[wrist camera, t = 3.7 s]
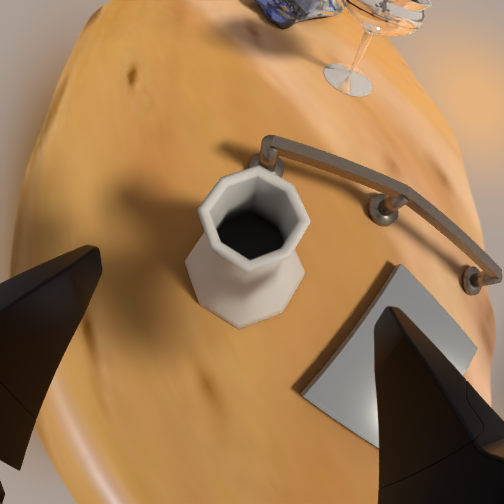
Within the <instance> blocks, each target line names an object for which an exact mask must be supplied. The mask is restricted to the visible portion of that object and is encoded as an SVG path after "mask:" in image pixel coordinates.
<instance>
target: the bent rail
mask: <svg viewBox="0 0 504 504" xmlns="http://www.w3.org/2000/svg"><path fill="white" fill-rule="evenodd" d="M279 155H280V156H283V157H286V158H289V159H292V160H295V161H298V162H302V163H305V164H308V165H310V166H313V167H316V168H319V169H322V170H325V171H328V172H330V173H333V174H336V175H339V176H341V177H344V178H347V179H349V180H352V181H354V182H357V183H360V184H362V185H365V186H367V187H370V188H372V189H375V190H377V191H379V192H382V193H384V194H382V193H380V194H376V195H375V196H374V197H373V198H371V199H370V201H369V203H368V213H369V216H370V217H371V219H372V220H373V221H374V222H375V223H376V224H378V225H380V226H389V225H390V224H392V223H394V222H395V221H396V219H397V217H398V209H399V208H401V207H402V206H403V205H405V204H406V205H407V206H408V207H410V208H411V209H412V210H414V211H415V212H416V213H417V214H419V215H420V216H421V217H423V218H424V219H425V220H426V221H428V222H429V223H430V224H431V225H433V226H434V227H435V228H436V229H437V230H439V231H440V232H441V233H442V234H443V235H445V236H446V237H447V238H448V239H449V240H450V241H452V242H453V243H454V244H455V245H456V246H457V247H458V248H460V249H461V250H462V251H463V252H464V253H465V254H466V255H467V256H468V257H469V258H471V259H472V260H473V261H474V262H475V263H476V264H477V265H478V266H479V267H480V268H481V269H482V270H483V271H482V272H480V271H479V270H478V269H477V268H476V267H469V268H467V269H465V271H464V273H463V276H462V285H463V288H464V291H465V292H466V293H467V294H468V295H476V294H478V293H479V292H480V290H481V287H482V286H486V285H491V284H495V283H500V282H501V280H502V269H501V268H500V267H499V266H498V265H497V264H496V263H495V262H494V261H493V260H492V259H491V258H490V257H489V256H488V255H487V254H486V253H485V252H484V251H483V250H482V249H481V248H480V247H479V246H478V245H477V244H476V243H475V242H474V241H473V240H472V239H471V238H470V237H469V236H468V235H467V234H466V233H464V232H463V231H462V230H461V229H460V228H459V227H458V226H457V225H456V224H455V223H453V222H452V221H451V220H450V219H449V218H448V217H446V216H445V215H444V214H443V213H442V212H441V211H439V210H438V209H437V208H436V207H435V206H433V205H432V204H431V203H430V202H428V201H427V200H426V199H425V198H423V197H422V196H421V195H420V194H418V193H417V192H416V191H414V190H413V189H412V188H411V187H408V185H405V184H403V183H401V182H399V181H397V180H395V179H392V178H390V177H388V176H385V175H383V174H381V173H379V172H376V171H374V170H371V169H369V168H367V167H364V166H362V165H359V164H357V163H354V162H352V161H349V160H346V159H344V158H341V157H338V156H336V155H333V154H330V153H327V152H325V151H322V150H319V149H316V148H313V147H310V146H307V145H304V144H301V143H298V142H295V141H292V140H289V139H285V138H282V137H279V136H275V135H267V136H265V137H264V138H263V139H262V143H261V150H260V153H259V154H257V155H255V156H254V157H253V158H252V159H251V161H250V164H249V168H252V167H255V166H258V165H260V166H261V167H263V168H265V169H267V170H269V171H270V172H272V173H274V174H276V175H277V176H279V177H282V175H283V172H284V164H283V162H282V160H281V159H280V158H279Z"/></svg>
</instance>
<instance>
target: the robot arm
mask: <svg viewBox="0 0 504 504" xmlns="http://www.w3.org/2000/svg"><path fill="white" fill-rule="evenodd" d="M101 275H102V263H101V256H100V251H99V248H98V247H96V246H92V245H85V246H82V247H80V248H77V249H75V250H73V251H70V252H68V253H65V254H63V255H61V256H58V257H56V258H54V259H52V260H49V261H47V262H45V263H43V264H40V265H38V266H36V267H34V268H32V269H29V270H27V271H25V272H23V273H21V274H19V275H17V276H15V277H13V278H10V279H8V280H7V281H4V282H2V283H1V284H0V460H1V461H3V462H4V463H6V464H8V465H10V466H11V467H13V468H15V469H17V470H20V469H21V466H22V463H23V459H24V456H25V452H26V449H27V446H28V443H29V440H30V437H31V433H32V431H33V428H34V425H35V422H36V419H37V416H38V414H39V411H40V408H41V406H42V403H43V401H44V398H45V396H46V393H47V391H48V389H49V386H50V384H51V382H52V379H53V377H54V375H55V372H56V370H57V368H58V366H59V364H60V361H61V359H62V357H63V355H64V353H65V351H66V349H67V347H68V345H69V343H70V341H71V339H72V337H73V335H74V333H75V331H76V329H77V327H78V325H79V323H80V321H81V320H82V318H83V316H84V314H85V311H86V309H87V307H88V305H89V302H90V300H91V297H92V295H93V293H94V291H95V288H96V286H97V284H98V282H99V279H100V277H101ZM374 373H375V385H376V397H377V411H378V430H379V491H378V504H504V421H503V420H502V419H501V418H500V417H499V415H498V414H497V413H496V412H495V411H494V410H493V409H492V408H491V407H490V406H489V405H488V404H487V403H486V402H485V400H484V399H483V398H482V397H481V396H480V395H479V394H478V393H477V391H476V390H475V389H474V388H473V387H472V386H471V385H470V383H469V382H468V381H466V379H465V378H464V376H463V375H462V374H461V373H460V372H459V371H458V370H457V369H456V367H455V366H454V365H453V364H452V363H451V362H450V361H449V360H448V359H447V357H446V356H445V355H444V354H443V353H442V352H441V351H440V350H439V349H438V348H437V347H436V345H435V344H434V343H433V342H432V341H431V340H430V339H429V338H428V337H427V336H426V335H425V334H424V333H423V332H422V331H421V330H420V329H419V328H418V326H417V325H416V324H415V323H414V322H413V321H412V320H411V319H410V318H409V317H408V316H407V315H406V314H405V313H404V312H403V311H402V310H401V309H400V308H398V307H394V306H387V307H386V308H385V309H384V310H383V312H382V314H381V315H380V317H379V319H378V320H377V322H376V324H375V326H374ZM4 496H5V492H4V490H3V487H2V484H1V481H0V504H2V502H3V499H4Z"/></svg>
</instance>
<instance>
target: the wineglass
mask: <svg viewBox="0 0 504 504" xmlns="http://www.w3.org/2000/svg"><path fill="white" fill-rule="evenodd" d="M341 2H342V3H343V5H344V7H345V8H346V10H347V11H348V13H349V14H350V16H351V17H352V18H353V19H354V20H355V21H356V22H357V23H359V24H360V25H361V26H362V28H363V30H364V31H365V32H364V34H363V37H362V40H361V43H360V45H359V48H358V51H357V53H356V56H355V59H354V61H353V64H352V66H350V65H347V64H342V63H333V64H329V65H328V66H327V67H325V70H324V75H325V78H326V79H327V81H328V82H329V83H330V84H331V85H332V86H333V87H334V88H336V89H337V90H339V91H341V92H343V93H345V94H348V95H351V96H356V97H361V96H366V95H368V94H369V93H370V92H371V91H372V85H371V82H370V80H369V79H368V77H367V76H366V75H365V74H364V73H362V72H361V71H360V70H358V69H357V68H356V67H357V65H358V63H359V61H360V60H361V58H362V56H363V54H364V52H365V50H366V48H367V46H368V44H369V43H370V41H371V39H372V37H373V35H379V34H382V35H385V36H399V35H408V34H411V33H413V32H414V31H416V30H417V29H418V28H419V27H420V25H421V24H422V23H423V21H424V16H425V15H424V9H427V8H429V7H430V6H431V5H432V3H431V1H430V0H341Z"/></svg>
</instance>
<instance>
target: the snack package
mask: <svg viewBox="0 0 504 504" xmlns="http://www.w3.org/2000/svg"><path fill="white" fill-rule="evenodd" d="M255 1H256V2H257V3H258V4H259V5H260V7H261V9H262V10H263V12H264V13H265V15H266V14H267V15H268V16H269V18H268V16H267V15H266V17H267V19H268V20H269V21H270V22H272V23H274V24H276V25H278V26H279V27H280V28H282V29H286V28H289V27H290V26H292V25H293V24H295V23H297V22H300V21H304V20H307V19H311V18H315V17H324V16H335V15H337V14H338V13H340V12H341V11H342V10H343V9H342V6H340V5H339V4H338V3H337V2H336V0H255ZM290 10H293V12H291V11H290ZM336 10H337V11H338V12H336ZM324 11H328V12H334V13H335V14H334V15H324V14H323V13H322V14H319V13H321V12H324Z"/></svg>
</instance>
